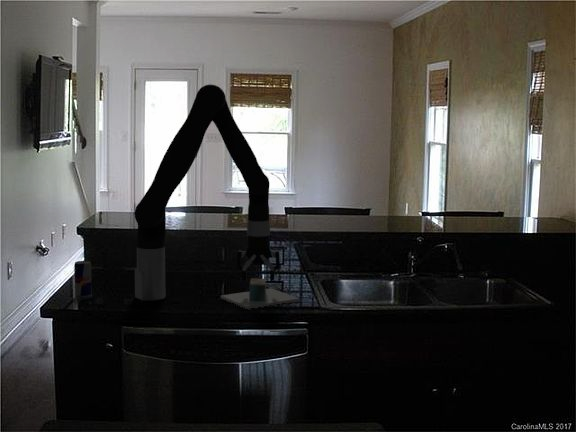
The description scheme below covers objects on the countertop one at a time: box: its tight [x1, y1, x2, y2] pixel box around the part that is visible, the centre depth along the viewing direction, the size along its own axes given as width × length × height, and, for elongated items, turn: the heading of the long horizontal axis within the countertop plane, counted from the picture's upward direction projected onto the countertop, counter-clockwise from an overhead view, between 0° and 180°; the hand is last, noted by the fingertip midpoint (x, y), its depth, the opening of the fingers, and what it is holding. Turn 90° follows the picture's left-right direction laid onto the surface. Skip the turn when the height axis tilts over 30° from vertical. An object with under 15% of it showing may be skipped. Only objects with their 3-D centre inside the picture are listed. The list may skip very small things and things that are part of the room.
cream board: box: [220, 287, 300, 310], centre depth 267 cm, size 20×17×1 cm
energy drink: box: [73, 260, 93, 300], centre depth 267 cm, size 5×5×12 cm
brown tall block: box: [248, 278, 267, 301], centre depth 267 cm, size 5×5×11 cm
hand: (258, 281), depth 269 cm, fingers open, 8 cm apart
